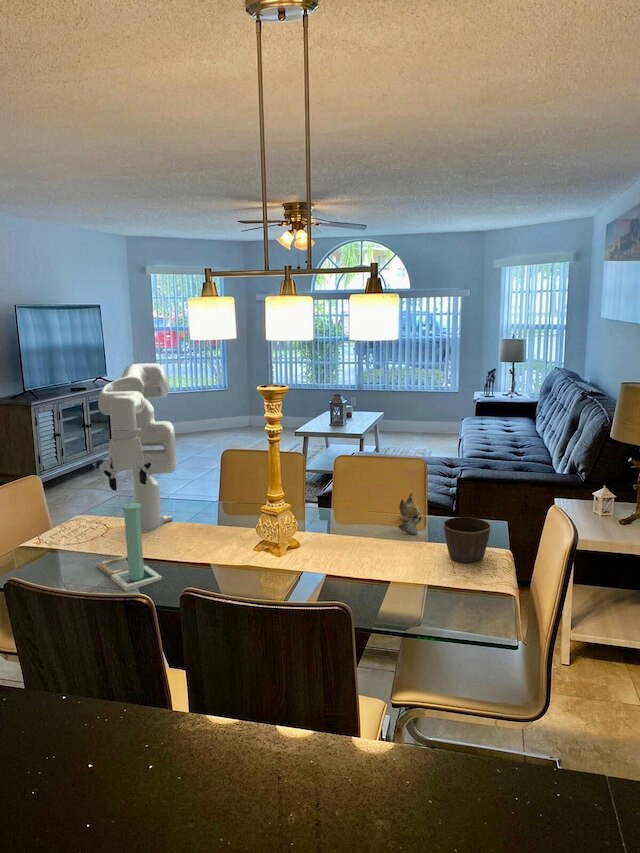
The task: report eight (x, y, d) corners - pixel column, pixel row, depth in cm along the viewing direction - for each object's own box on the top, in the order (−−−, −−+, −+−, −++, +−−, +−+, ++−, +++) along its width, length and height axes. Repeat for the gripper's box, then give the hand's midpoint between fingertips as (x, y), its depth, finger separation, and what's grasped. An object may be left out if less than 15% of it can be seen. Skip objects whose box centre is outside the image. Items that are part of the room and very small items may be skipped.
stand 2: (146, 569, 213) (146, 565, 213) (162, 581, 204) (161, 576, 204) (111, 579, 206) (111, 574, 205) (125, 591, 196) (125, 586, 196)
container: (143, 583, 202) (138, 508, 197) (124, 583, 202) (119, 508, 198) (148, 576, 208) (143, 502, 203) (130, 576, 208) (125, 502, 203)
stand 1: (131, 558, 223) (131, 554, 223) (145, 568, 214) (145, 564, 214) (97, 567, 216) (97, 563, 215) (110, 578, 206) (110, 573, 206)
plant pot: (482, 583, 198) (483, 535, 195) (436, 574, 205) (437, 527, 203) (494, 567, 211) (495, 521, 208) (450, 559, 218) (451, 514, 215)
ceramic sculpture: (416, 540, 237) (416, 501, 234) (394, 536, 241) (394, 498, 238) (426, 531, 246) (426, 494, 243) (405, 528, 250) (405, 491, 247)
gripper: (145, 428, 207) (149, 479, 211) (93, 436, 197) (97, 489, 200) (155, 432, 201) (159, 484, 205) (101, 440, 191) (106, 494, 194)
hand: (128, 486), depth 202 cm, fingers open, 9 cm apart
